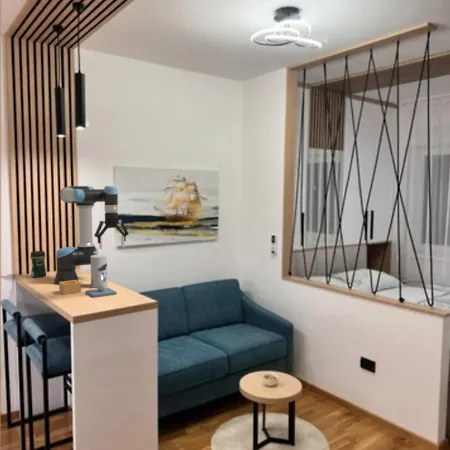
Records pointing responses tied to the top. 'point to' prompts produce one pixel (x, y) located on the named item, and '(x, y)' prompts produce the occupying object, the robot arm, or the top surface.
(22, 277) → the top surface
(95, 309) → the top surface
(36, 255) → the coffee jar
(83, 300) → the top surface
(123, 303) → the top surface
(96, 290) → the keeper
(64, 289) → the cardboard box
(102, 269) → the container
